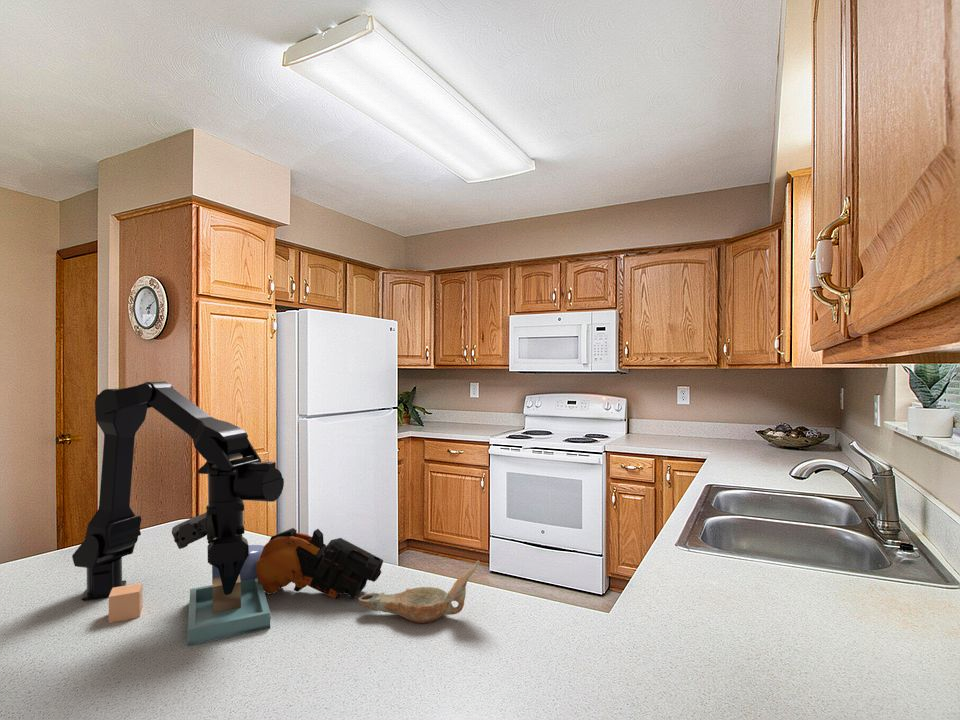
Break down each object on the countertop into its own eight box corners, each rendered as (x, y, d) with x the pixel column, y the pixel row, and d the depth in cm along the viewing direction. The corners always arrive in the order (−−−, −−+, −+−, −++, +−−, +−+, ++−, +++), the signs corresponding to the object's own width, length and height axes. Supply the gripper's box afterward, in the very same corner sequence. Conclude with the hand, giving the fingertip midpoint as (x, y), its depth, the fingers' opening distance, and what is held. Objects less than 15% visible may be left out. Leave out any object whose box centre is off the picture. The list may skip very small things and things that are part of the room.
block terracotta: (112, 613, 97) (112, 587, 97) (142, 607, 99) (142, 582, 100) (108, 623, 93) (108, 596, 93) (139, 617, 95) (139, 591, 96)
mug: (212, 586, 108) (211, 550, 109) (265, 576, 113) (264, 542, 113) (212, 599, 102) (212, 561, 102) (268, 588, 107) (268, 552, 107)
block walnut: (239, 598, 101) (239, 573, 101) (241, 607, 97) (240, 582, 97) (212, 603, 99) (212, 578, 99) (212, 612, 95) (212, 586, 95)
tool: (347, 644, 99) (376, 568, 97) (240, 589, 102) (267, 515, 101) (364, 623, 107) (391, 552, 105) (265, 572, 110) (290, 504, 109)
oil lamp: (476, 632, 88) (475, 569, 88) (349, 625, 91) (348, 564, 91) (484, 609, 96) (483, 551, 96) (368, 603, 99) (367, 547, 100)
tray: (190, 602, 101) (190, 588, 101) (260, 589, 106) (260, 576, 106) (187, 646, 85) (187, 629, 85) (270, 628, 90) (270, 612, 90)
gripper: (177, 493, 103) (177, 576, 103) (172, 517, 87) (173, 616, 86) (241, 486, 108) (242, 566, 108) (248, 507, 92) (249, 601, 91)
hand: (226, 585), depth 98 cm, fingers open, 8 cm apart
